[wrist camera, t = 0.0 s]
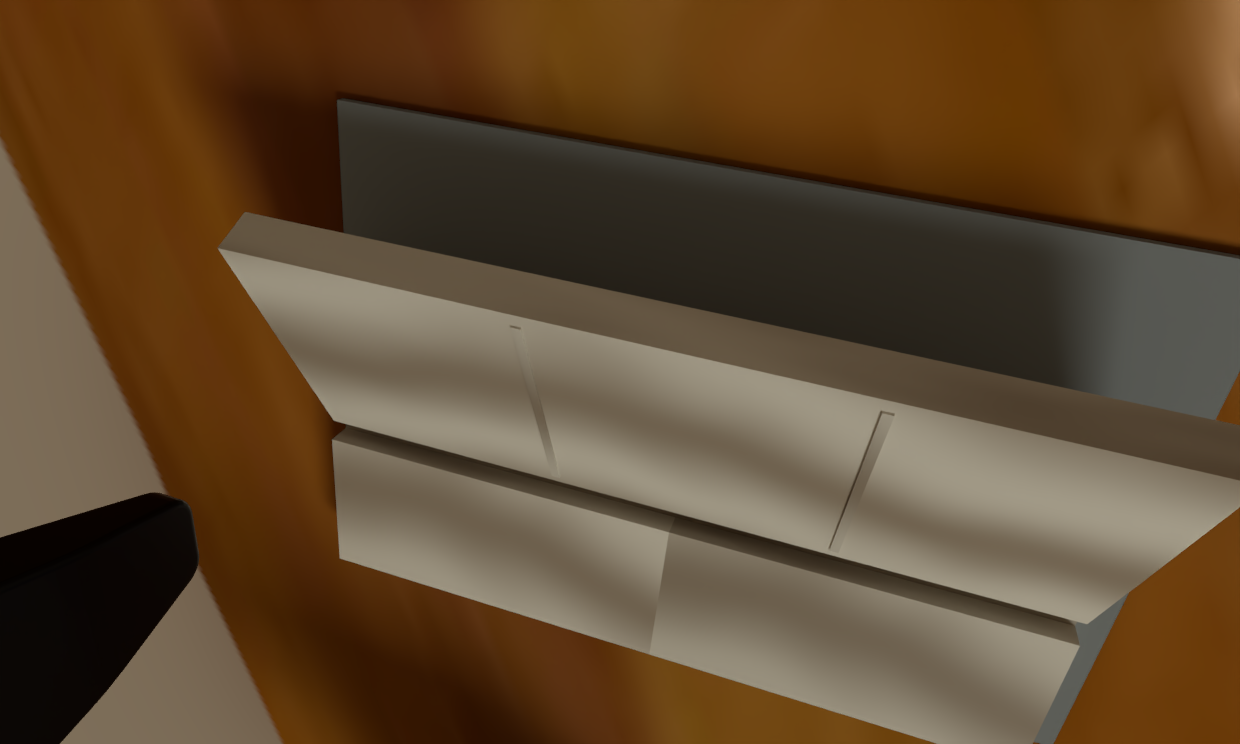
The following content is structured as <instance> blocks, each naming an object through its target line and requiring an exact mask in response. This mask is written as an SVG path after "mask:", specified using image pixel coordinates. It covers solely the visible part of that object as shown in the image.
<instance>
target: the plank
mask: <svg viewBox="0 0 1240 744" xmlns="http://www.w3.org/2000/svg"><path fill="white" fill-rule="evenodd" d="M218 249H219V251H220V252H221V254H222V255H223V257H224V258H225V260H226V261H227V263H228V264H229V266H230V267H231V269H232V270H233V272H234V273H235V275H236V276H237V278H238V279H239V281H240V282H241V284H242V285H243V287H244V288H245V290H246V291H247V293H248V294H249V295H250V297H251V298H252V300H253V301H254V303H255V304H256V306H257V307H258V309H259V310H260V312H261V313H262V315H263V316H264V318H265V319H266V321H267V322H268V324H269V325H270V327H271V328H272V330H273V331H274V333H275V334H276V336H277V337H278V339H279V340H280V342H281V343H282V344H283V346H284V347H285V349H286V350H287V352H288V353H289V355H290V356H291V358H292V359H293V361H294V362H295V364H296V365H297V367H298V368H299V370H300V371H301V373H302V374H303V376H304V377H305V379H306V380H307V382H308V383H309V385H310V386H311V388H312V389H313V390H314V392H315V393H316V395H317V396H318V398H319V399H320V401H321V402H322V404H323V405H324V407H325V408H326V410H327V411H328V413H329V414H330V416H331V417H332V419H333V420H334V421H337V422H340V423H344V424H348V425H351V426H355V427H359V428H363V429H366V430H370V431H374V432H377V433H381V434H385V435H388V436H392V437H396V438H400V439H403V440H407V441H411V442H414V443H418V444H422V445H425V446H429V447H433V448H437V449H440V450H444V451H448V452H451V453H455V454H459V455H462V456H466V457H470V458H474V459H477V460H481V461H485V462H488V463H492V464H496V465H499V466H503V467H507V468H511V469H514V470H518V471H522V472H525V473H529V474H533V475H536V476H540V477H544V478H548V479H551V480H555V481H559V482H562V483H566V484H570V485H573V486H577V487H581V488H585V489H588V490H592V491H596V492H599V493H603V494H607V495H610V496H614V497H618V498H622V499H625V500H629V501H633V502H636V503H640V504H644V505H647V506H651V507H655V508H659V509H662V510H666V511H670V512H673V513H677V514H681V515H684V516H688V517H692V518H696V519H699V520H703V521H707V522H710V523H714V524H718V525H721V526H725V527H729V528H733V529H736V530H740V531H744V532H747V533H751V534H755V535H758V536H762V537H766V538H770V539H773V540H777V541H781V542H784V543H788V544H792V545H795V546H799V547H803V548H807V549H810V550H814V551H818V552H821V553H825V554H829V555H832V556H836V557H840V558H844V559H847V560H851V561H855V562H858V563H862V564H866V565H869V566H873V567H877V568H881V569H884V570H888V571H892V572H895V573H899V574H903V575H906V576H910V577H914V578H918V579H921V580H925V581H929V582H932V583H936V584H940V585H943V586H947V587H951V588H955V589H958V590H962V591H966V592H969V593H973V594H977V595H980V596H984V597H988V598H992V599H995V600H999V601H1003V602H1006V603H1010V604H1014V605H1017V606H1021V607H1025V608H1029V609H1032V610H1036V611H1040V612H1043V613H1047V614H1051V615H1054V616H1058V617H1062V618H1066V619H1069V620H1073V621H1077V622H1080V623H1084V624H1088V623H1090V622H1091V621H1092V620H1093V619H1095V618H1096V617H1097V616H1099V615H1100V614H1101V613H1103V612H1104V611H1105V610H1106V609H1108V608H1109V607H1110V606H1112V605H1113V604H1114V603H1116V602H1117V601H1118V600H1120V599H1121V598H1122V597H1123V596H1125V595H1126V594H1127V593H1129V592H1130V591H1131V590H1133V589H1134V588H1135V587H1136V586H1138V585H1139V584H1140V583H1142V582H1143V581H1144V580H1146V579H1147V578H1148V577H1149V576H1151V575H1152V574H1153V573H1155V572H1156V571H1157V570H1159V569H1160V568H1161V567H1162V566H1164V565H1165V564H1166V563H1168V562H1169V561H1170V560H1172V559H1173V558H1174V557H1175V556H1177V555H1178V554H1179V553H1181V552H1182V551H1183V550H1185V549H1186V548H1187V547H1188V546H1190V545H1191V544H1192V543H1194V542H1195V541H1196V540H1198V539H1199V538H1200V537H1201V536H1203V535H1204V534H1205V533H1207V532H1208V531H1209V530H1211V529H1212V528H1213V527H1214V526H1216V525H1217V524H1218V523H1220V522H1221V521H1222V520H1224V519H1225V518H1226V517H1228V516H1229V515H1230V514H1231V513H1233V512H1234V511H1235V510H1237V509H1238V508H1239V507H1240V425H1235V424H1230V423H1226V422H1221V421H1216V420H1212V419H1207V418H1202V417H1198V416H1193V415H1188V414H1184V413H1179V412H1175V411H1170V410H1165V409H1161V408H1156V407H1151V406H1147V405H1142V404H1137V403H1133V402H1128V401H1123V400H1119V399H1114V398H1109V397H1105V396H1100V395H1095V394H1091V393H1086V392H1081V391H1077V390H1072V389H1067V388H1063V387H1058V386H1053V385H1049V384H1044V383H1039V382H1035V381H1030V380H1025V379H1021V378H1016V377H1011V376H1007V375H1002V374H998V373H993V372H988V371H984V370H979V369H974V368H970V367H965V366H960V365H956V364H951V363H946V362H942V361H937V360H932V359H928V358H923V357H918V356H914V355H909V354H904V353H900V352H895V351H890V350H886V349H881V348H876V347H872V346H867V345H862V344H858V343H853V342H848V341H844V340H839V339H834V338H830V337H825V336H821V335H816V334H811V333H807V332H802V331H797V330H793V329H788V328H783V327H779V326H774V325H769V324H765V323H760V322H755V321H751V320H746V319H741V318H737V317H732V316H727V315H723V314H718V313H713V312H709V311H704V310H699V309H695V308H690V307H685V306H681V305H676V304H671V303H667V302H662V301H657V300H653V299H648V298H644V297H639V296H634V295H630V294H625V293H620V292H616V291H611V290H606V289H602V288H597V287H592V286H588V285H583V284H578V283H574V282H569V281H564V280H560V279H555V278H550V277H546V276H541V275H536V274H532V273H527V272H522V271H518V270H513V269H508V268H504V267H499V266H494V265H490V264H485V263H480V262H476V261H471V260H467V259H462V258H457V257H453V256H448V255H443V254H439V253H434V252H429V251H425V250H420V249H415V248H411V247H406V246H401V245H397V244H392V243H387V242H383V241H378V240H373V239H369V238H364V237H359V236H355V235H350V234H345V233H341V232H336V231H331V230H327V229H322V228H317V227H313V226H308V225H303V224H299V223H294V222H290V221H285V220H280V219H276V218H271V217H266V216H262V215H257V214H252V213H248V212H244V214H243V215H242V216H241V218H240V219H239V220H238V222H237V223H236V224H235V226H234V227H233V228H232V230H231V231H230V232H229V234H228V235H227V236H226V238H225V239H224V240H223V242H222V243H221V244H220V246H219V247H218Z"/></svg>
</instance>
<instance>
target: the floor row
mask: <svg viewBox="0 0 1240 744" xmlns="http://www.w3.org/2000/svg"><path fill="white" fill-rule="evenodd" d="M332 448H333V463H334V478H335V493H336V508H337V523H338V538H339V553H340V559H344V560H347V561H350V562H353V563H356V564H360V565H363V566H366V567H369V568H373V569H376V570H379V571H382V572H385V573H389V574H392V575H395V576H398V577H402V578H405V579H408V580H411V581H414V582H418V583H421V584H424V585H427V586H431V587H434V588H437V589H440V590H444V591H447V592H450V593H453V594H456V595H460V596H463V597H466V598H469V599H473V600H476V601H479V602H482V603H485V604H489V605H492V606H495V607H498V608H502V609H505V610H508V611H511V612H514V613H518V614H521V615H524V616H527V617H531V618H534V619H537V620H540V621H543V622H547V623H550V624H553V625H556V626H560V627H563V628H566V629H569V630H573V631H576V632H579V633H582V634H585V635H589V636H592V637H595V638H598V639H602V640H605V641H608V642H611V643H614V644H618V645H621V646H624V647H627V648H631V649H634V650H637V651H640V652H643V653H647V654H650V655H653V656H656V657H660V658H663V659H666V660H669V661H673V662H676V663H679V664H682V665H685V666H689V667H692V668H695V669H698V670H702V671H705V672H708V673H711V674H714V675H718V676H721V677H724V678H727V679H731V680H734V681H737V682H740V683H743V684H747V685H750V686H753V687H756V688H760V689H763V690H766V691H769V692H773V693H776V694H779V695H782V696H785V697H789V698H792V699H795V700H798V701H802V702H805V703H808V704H811V705H814V706H818V707H821V708H824V709H827V710H831V711H834V712H837V713H840V714H843V715H847V716H850V717H853V718H856V719H860V720H863V721H866V722H869V723H872V724H876V725H879V726H882V727H885V728H889V729H892V730H895V731H898V732H902V733H905V734H908V735H911V736H914V737H918V738H921V739H924V740H927V741H931V742H934V743H937V744H1033V742H1034V740H1035V738H1036V736H1037V734H1038V732H1039V730H1040V727H1041V725H1042V723H1043V721H1044V719H1045V717H1046V715H1047V713H1048V711H1049V709H1050V707H1051V705H1052V703H1053V701H1054V699H1055V696H1056V694H1057V692H1058V690H1059V688H1060V686H1061V684H1062V682H1063V680H1064V678H1065V676H1066V674H1067V672H1068V670H1069V667H1070V665H1071V663H1072V661H1073V659H1074V657H1075V655H1076V653H1077V651H1078V649H1079V647H1080V644H1079V640H1078V636H1077V632H1076V628H1075V625H1076V623H1077V621H1073V620H1069V619H1066V618H1062V617H1058V616H1054V615H1051V614H1047V613H1043V612H1040V611H1036V610H1032V609H1029V608H1025V607H1021V606H1017V605H1014V604H1010V603H1006V602H1003V601H999V600H995V599H992V598H988V597H984V596H980V595H977V594H973V593H969V592H966V591H962V590H958V589H955V588H951V587H947V586H943V585H940V584H936V583H932V582H929V581H925V580H921V579H918V578H914V577H910V576H906V575H903V574H899V573H895V572H892V571H888V570H884V569H881V568H877V567H873V566H869V565H866V564H862V563H858V562H855V561H851V560H847V559H844V558H840V557H836V556H832V555H829V554H825V553H821V552H818V551H814V550H810V549H807V548H803V547H799V546H795V545H792V544H788V543H784V542H781V541H777V540H773V539H770V538H766V537H762V536H758V535H755V534H751V533H747V532H744V531H740V530H736V529H733V528H729V527H725V526H721V525H718V524H714V523H710V522H707V521H703V520H699V519H696V518H692V517H688V516H684V515H681V514H677V513H673V512H670V511H666V510H662V509H659V508H655V507H651V506H647V505H644V504H640V503H636V502H633V501H629V500H625V499H622V498H618V497H614V496H610V495H607V494H603V493H599V492H596V491H592V490H588V489H585V488H581V487H577V486H573V485H570V484H566V483H562V482H559V481H555V480H551V479H548V478H544V477H540V476H536V475H533V474H529V473H525V472H522V471H518V470H514V469H511V468H507V467H503V466H499V465H496V464H492V463H488V462H485V461H481V460H477V459H474V458H470V457H466V456H462V455H459V454H455V453H451V452H448V451H444V450H440V449H437V448H433V447H429V446H425V445H422V444H418V443H414V442H411V441H407V440H403V439H400V438H396V437H392V436H388V435H385V434H381V433H377V432H374V431H370V430H366V429H363V428H359V427H355V426H351V425H348V424H346V428H345V429H344V430H343V431H342V432H340V433H339V434H338V435H337V436H335V437H334V438H333V439H332Z"/></svg>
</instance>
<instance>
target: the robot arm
mask: <svg viewBox="0 0 1240 744" xmlns="http://www.w3.org/2000/svg"><path fill="white" fill-rule="evenodd" d="M198 562H199V551H198V545H197V539H196V533H195V527H194V521H193V515H192V511H191V508H190V506H189V505H188V504H187V502H185V501H183V500H181V499H178V498H174V497H171V496H168V495H164V494H161V493H148V494H144V495H140V496H138V497H134V498H131V499H127V500H124V501H120V502H117V503H114V504H110V505H107V506H104V507H101V508H97V509H94V510H90V511H87V512H84V513H80V514H77V515H74V516H70V517H67V518H64V519H60V520H57V521H54V522H51V523H47V524H44V525H41V526H37V527H34V528H30V529H27V530H24V531H21V532H17V533H14V534H11V535H7V536H4V537H1V538H0V744H60V743H61V742H62V741H63V740H64V738H65V737H66V736H67V735H68V734H69V733H70V732H71V731H72V729H73V728H74V727H75V726H76V725H77V724H78V723H79V722H80V720H81V719H82V718H83V717H84V716H85V715H86V714H87V713H88V712H89V711H90V710H91V708H92V707H93V706H94V705H95V704H96V703H97V702H98V700H99V699H100V698H101V697H102V696H103V695H104V693H105V692H106V691H107V690H108V689H109V687H110V686H111V685H112V684H113V682H114V681H115V679H116V678H117V677H118V676H119V675H120V673H121V672H122V671H123V670H124V668H125V667H126V666H127V664H128V663H129V662H130V660H131V659H132V658H133V656H134V655H135V654H136V652H137V651H138V650H139V648H140V647H141V646H142V644H143V643H144V642H145V640H146V639H147V638H148V636H149V635H150V634H151V632H152V631H153V629H154V628H155V627H156V626H157V624H158V623H159V622H160V620H161V619H162V618H163V616H164V615H165V614H166V612H167V611H168V610H169V608H170V607H171V606H172V604H173V603H174V601H175V600H176V599H177V598H178V596H179V595H180V594H181V592H182V591H183V590H184V588H185V587H186V586H187V584H188V583H189V582H190V580H191V579H192V577H193V576H194V573H195V572H196V569H197V566H198Z"/></svg>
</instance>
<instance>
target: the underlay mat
mask: <svg viewBox="0 0 1240 744" xmlns="http://www.w3.org/2000/svg"><path fill="white" fill-rule="evenodd" d="M337 112H338V131H339V151H340V170H341V189H342V209H343V228H344V233H345V234H350V235H355V236H359V237H364V238H369V239H373V240H378V241H383V242H387V243H392V244H397V245H401V246H406V247H411V248H415V249H420V250H425V251H429V252H434V253H439V254H443V255H448V256H453V257H457V258H462V259H467V260H471V261H476V262H480V263H485V264H490V265H494V266H499V267H504V268H508V269H513V270H518V271H522V272H527V273H532V274H536V275H541V276H546V277H550V278H555V279H560V280H564V281H569V282H574V283H578V284H583V285H588V286H592V287H597V288H602V289H606V290H611V291H616V292H620V293H625V294H630V295H634V296H639V297H644V298H648V299H653V300H657V301H662V302H667V303H671V304H676V305H681V306H685V307H690V308H695V309H699V310H704V311H709V312H713V313H718V314H723V315H727V316H732V317H737V318H741V319H746V320H751V321H755V322H760V323H765V324H769V325H774V326H779V327H783V328H788V329H793V330H797V331H802V332H807V333H811V334H816V335H821V336H825V337H830V338H834V339H839V340H844V341H848V342H853V343H858V344H862V345H867V346H872V347H876V348H881V349H886V350H890V351H895V352H900V353H904V354H909V355H914V356H918V357H923V358H928V359H932V360H937V361H942V362H946V363H951V364H956V365H960V366H965V367H970V368H974V369H979V370H984V371H988V372H993V373H998V374H1002V375H1007V376H1011V377H1016V378H1021V379H1025V380H1030V381H1035V382H1039V383H1044V384H1049V385H1053V386H1058V387H1063V388H1067V389H1072V390H1077V391H1081V392H1086V393H1091V394H1095V395H1100V396H1105V397H1109V398H1114V399H1119V400H1123V401H1128V402H1133V403H1137V404H1142V405H1147V406H1151V407H1156V408H1161V409H1165V410H1170V411H1175V412H1179V413H1184V414H1188V415H1193V416H1198V417H1202V418H1207V419H1212V420H1215V419H1216V417H1217V415H1218V413H1219V411H1220V409H1221V407H1222V405H1223V403H1224V401H1225V399H1226V397H1227V395H1228V393H1229V391H1230V389H1231V387H1232V385H1233V383H1234V381H1235V379H1236V377H1237V375H1238V373H1239V371H1240V255H1234V254H1229V253H1223V252H1217V251H1211V250H1206V249H1200V248H1194V247H1189V246H1183V245H1177V244H1171V243H1166V242H1160V241H1154V240H1149V239H1143V238H1137V237H1132V236H1126V235H1120V234H1114V233H1109V232H1103V231H1097V230H1092V229H1086V228H1080V227H1075V226H1069V225H1063V224H1057V223H1052V222H1046V221H1040V220H1035V219H1029V218H1023V217H1017V216H1012V215H1006V214H1000V213H995V212H989V211H983V210H978V209H972V208H966V207H960V206H955V205H949V204H943V203H938V202H932V201H926V200H921V199H915V198H909V197H903V196H898V195H892V194H886V193H881V192H875V191H869V190H863V189H858V188H852V187H846V186H841V185H835V184H829V183H824V182H818V181H812V180H806V179H801V178H795V177H789V176H784V175H778V174H772V173H767V172H761V171H755V170H749V169H744V168H738V167H732V166H727V165H721V164H715V163H709V162H704V161H698V160H692V159H687V158H681V157H675V156H670V155H664V154H658V153H652V152H647V151H641V150H635V149H630V148H624V147H618V146H613V145H607V144H601V143H595V142H590V141H584V140H578V139H573V138H567V137H561V136H555V135H550V134H544V133H538V132H533V131H527V130H521V129H516V128H510V127H504V126H498V125H493V124H487V123H481V122H476V121H470V120H464V119H459V118H453V117H447V116H441V115H436V114H430V113H424V112H419V111H413V110H407V109H401V108H396V107H390V106H384V105H379V104H373V103H367V102H362V101H356V100H350V99H344V98H342V99H338V100H337ZM1127 595H1128V593H1127V594H1126V595H1125V596H1123V597H1122V598H1121V599H1120V600H1118V601H1117V602H1116V603H1114V604H1113V605H1112V606H1110V607H1109V608H1108V609H1106V610H1105V611H1104V612H1103V613H1101V614H1100V615H1099V616H1097V617H1096V618H1095V619H1093V620H1092V621H1091V622H1090V623H1088V624H1084V623H1080V622H1077V623H1076V625H1075V628H1076V632H1077V636H1078V640H1079V644H1080V647H1079V649H1078V651H1077V653H1076V655H1075V657H1074V659H1073V661H1072V663H1071V665H1070V667H1069V670H1068V672H1067V674H1066V676H1065V678H1064V680H1063V682H1062V684H1061V686H1060V688H1059V690H1058V692H1057V694H1056V696H1055V699H1054V701H1053V703H1052V705H1051V707H1050V709H1049V711H1048V713H1047V715H1046V717H1045V719H1044V721H1043V723H1042V725H1041V727H1040V730H1039V732H1038V734H1037V736H1036V738H1035V740H1034V742H1037V743H1040V744H1053V743H1054V741H1055V739H1056V737H1057V735H1058V733H1059V731H1060V729H1061V727H1062V725H1063V723H1064V721H1065V719H1066V717H1067V715H1068V713H1069V711H1070V709H1071V707H1072V705H1073V703H1074V701H1075V699H1076V697H1077V695H1078V693H1079V691H1080V689H1081V687H1082V685H1083V683H1084V681H1085V679H1086V677H1087V675H1088V673H1089V671H1090V669H1091V667H1092V665H1093V663H1094V661H1095V659H1096V657H1097V655H1098V653H1099V651H1100V649H1101V647H1102V645H1103V643H1104V641H1105V639H1106V637H1107V635H1108V633H1109V631H1110V629H1111V627H1112V625H1113V623H1114V621H1115V619H1116V617H1117V615H1118V613H1119V611H1120V609H1121V607H1122V605H1123V603H1124V601H1125V599H1126V597H1127Z"/></svg>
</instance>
